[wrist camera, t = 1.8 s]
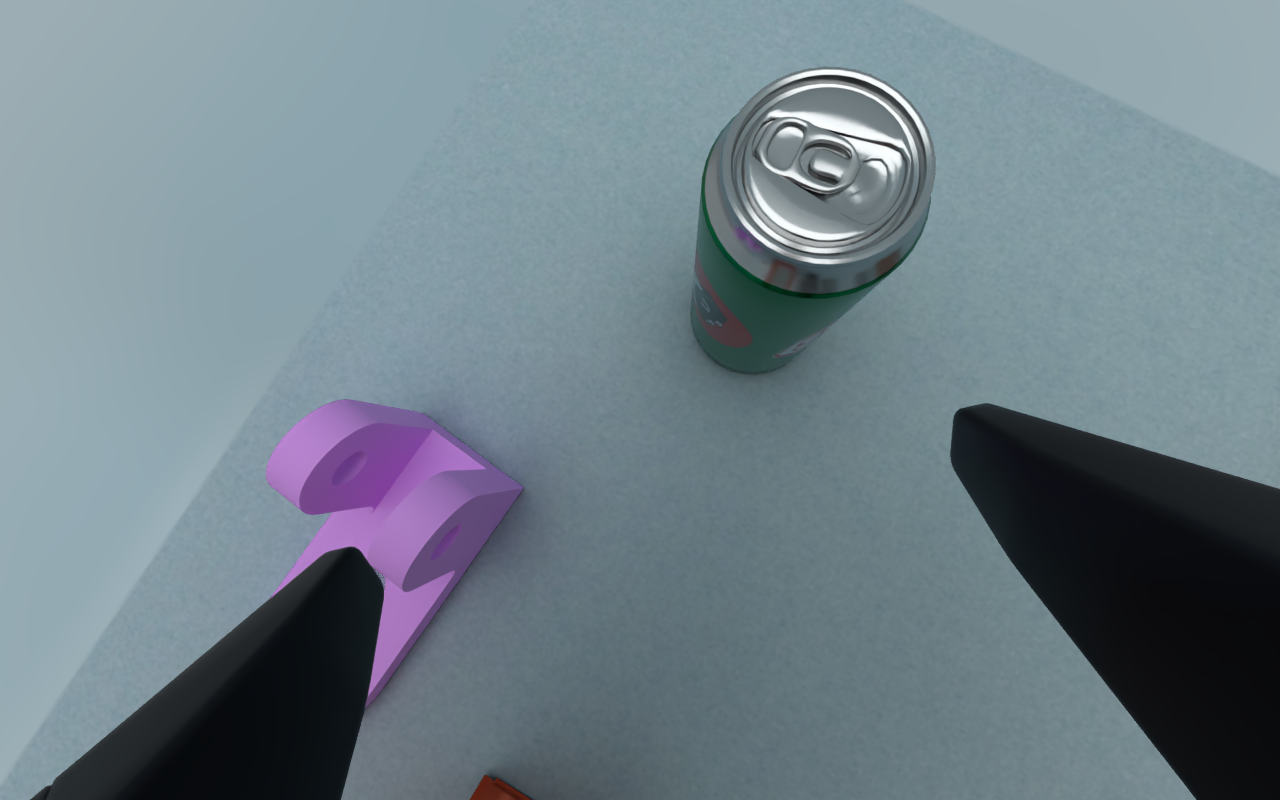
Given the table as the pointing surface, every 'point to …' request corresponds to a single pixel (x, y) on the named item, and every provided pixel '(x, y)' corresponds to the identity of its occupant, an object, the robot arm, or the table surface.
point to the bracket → (392, 508)
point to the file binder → (496, 791)
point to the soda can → (805, 212)
